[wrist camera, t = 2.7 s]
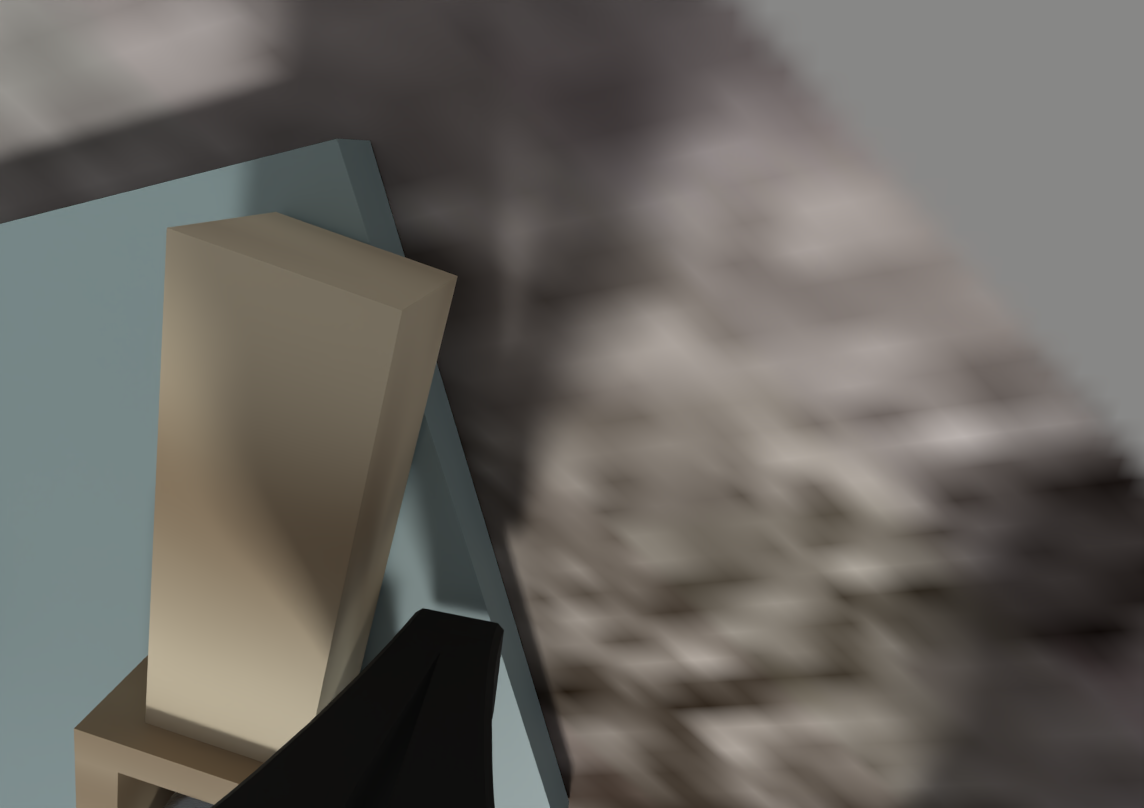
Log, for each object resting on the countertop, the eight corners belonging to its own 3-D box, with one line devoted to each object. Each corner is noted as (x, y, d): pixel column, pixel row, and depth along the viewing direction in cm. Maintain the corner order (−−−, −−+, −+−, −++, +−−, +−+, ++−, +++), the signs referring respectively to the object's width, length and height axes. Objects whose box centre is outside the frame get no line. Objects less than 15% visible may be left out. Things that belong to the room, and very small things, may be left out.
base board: (568, 801, 14) (545, 986, 11) (63, 813, 16) (-72, 966, 13) (370, 141, 9) (220, 130, 6) (-309, 310, 11) (-663, 366, 8)
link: (361, 820, 13) (302, 957, 11) (175, 758, 13) (77, 882, 11) (513, 296, 8) (463, 346, 6) (219, 192, 8) (59, 205, 6)
